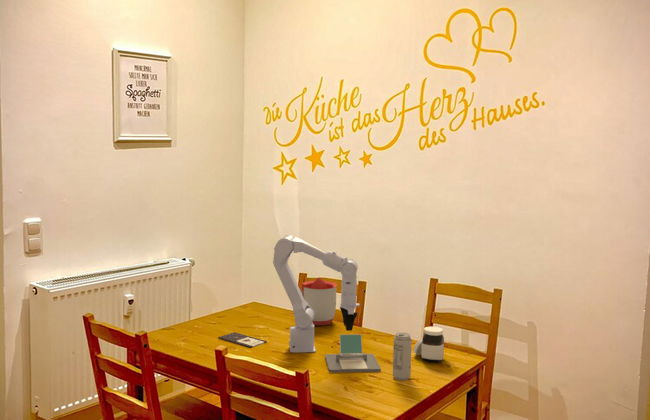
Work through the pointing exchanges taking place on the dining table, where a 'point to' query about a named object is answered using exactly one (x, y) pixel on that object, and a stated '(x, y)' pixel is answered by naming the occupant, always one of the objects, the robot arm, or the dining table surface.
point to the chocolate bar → (242, 340)
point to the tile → (351, 344)
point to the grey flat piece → (352, 363)
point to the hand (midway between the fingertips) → (348, 328)
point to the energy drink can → (402, 356)
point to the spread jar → (431, 345)
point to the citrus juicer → (320, 300)
